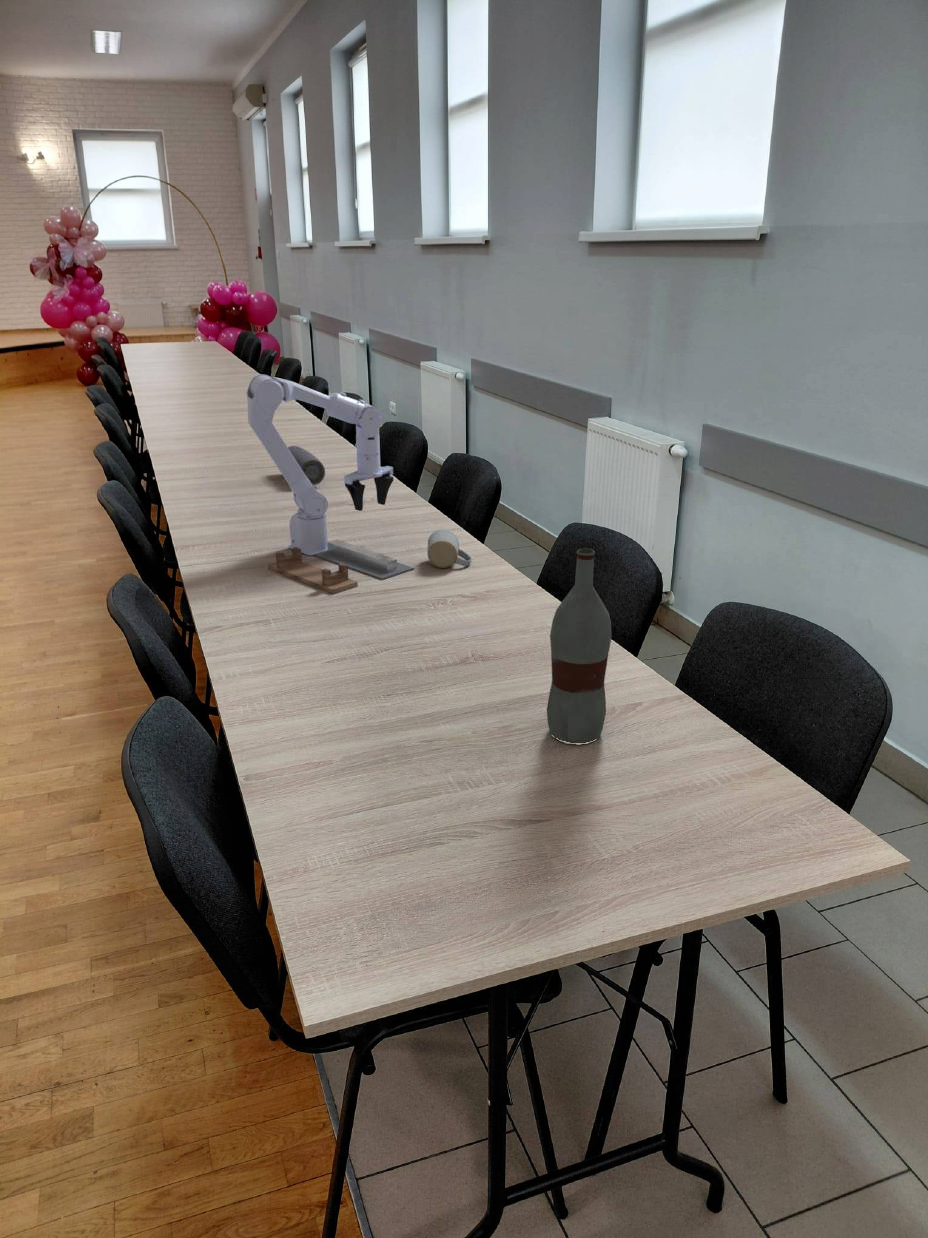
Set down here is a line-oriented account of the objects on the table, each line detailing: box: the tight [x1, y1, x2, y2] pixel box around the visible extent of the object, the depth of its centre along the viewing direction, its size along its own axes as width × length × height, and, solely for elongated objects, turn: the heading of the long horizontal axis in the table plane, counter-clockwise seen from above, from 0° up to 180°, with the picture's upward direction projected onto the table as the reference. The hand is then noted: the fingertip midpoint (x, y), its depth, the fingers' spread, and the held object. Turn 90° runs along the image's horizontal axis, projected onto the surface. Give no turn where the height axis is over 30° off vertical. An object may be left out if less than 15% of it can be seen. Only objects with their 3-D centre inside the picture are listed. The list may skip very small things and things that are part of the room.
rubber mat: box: [312, 550, 415, 581], centre depth 218 cm, size 28×10×1 cm, turn 47°
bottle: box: [546, 547, 612, 743], centre depth 135 cm, size 9×9×30 cm
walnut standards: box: [268, 547, 359, 595], centre depth 206 cm, size 24×7×4 cm, turn 47°
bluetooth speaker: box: [287, 445, 326, 486], centre depth 289 cm, size 23×9×10 cm, turn 25°
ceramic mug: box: [427, 528, 473, 569], centre depth 215 cm, size 11×8×8 cm
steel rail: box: [327, 539, 398, 572], centre depth 216 cm, size 22×3×2 cm, turn 47°
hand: (370, 506), depth 228 cm, fingers open, 7 cm apart
